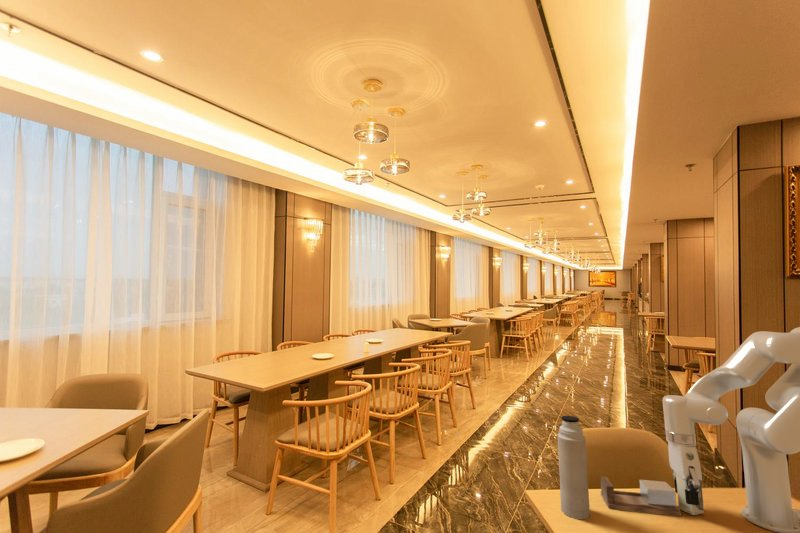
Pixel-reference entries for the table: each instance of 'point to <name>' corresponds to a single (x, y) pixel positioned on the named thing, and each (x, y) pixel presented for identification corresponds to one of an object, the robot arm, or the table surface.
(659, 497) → the block
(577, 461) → the thermos bottle
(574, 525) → the table surface
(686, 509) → the box
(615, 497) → the clamp board
